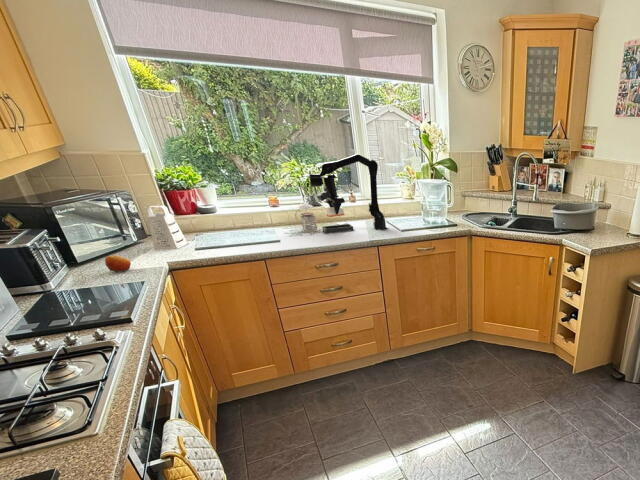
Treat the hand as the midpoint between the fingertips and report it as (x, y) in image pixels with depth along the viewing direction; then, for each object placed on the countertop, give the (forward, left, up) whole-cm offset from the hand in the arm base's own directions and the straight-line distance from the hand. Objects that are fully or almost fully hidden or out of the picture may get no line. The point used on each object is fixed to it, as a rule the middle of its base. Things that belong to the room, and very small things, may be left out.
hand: (335, 213), depth 248 cm
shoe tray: (0, 0, -10) cm, 10 cm away
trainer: (0, 0, -1) cm, 1 cm away
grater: (+83, -5, -10) cm, 84 cm away
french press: (+15, -9, -10) cm, 20 cm away
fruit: (+100, +33, -10) cm, 106 cm away
